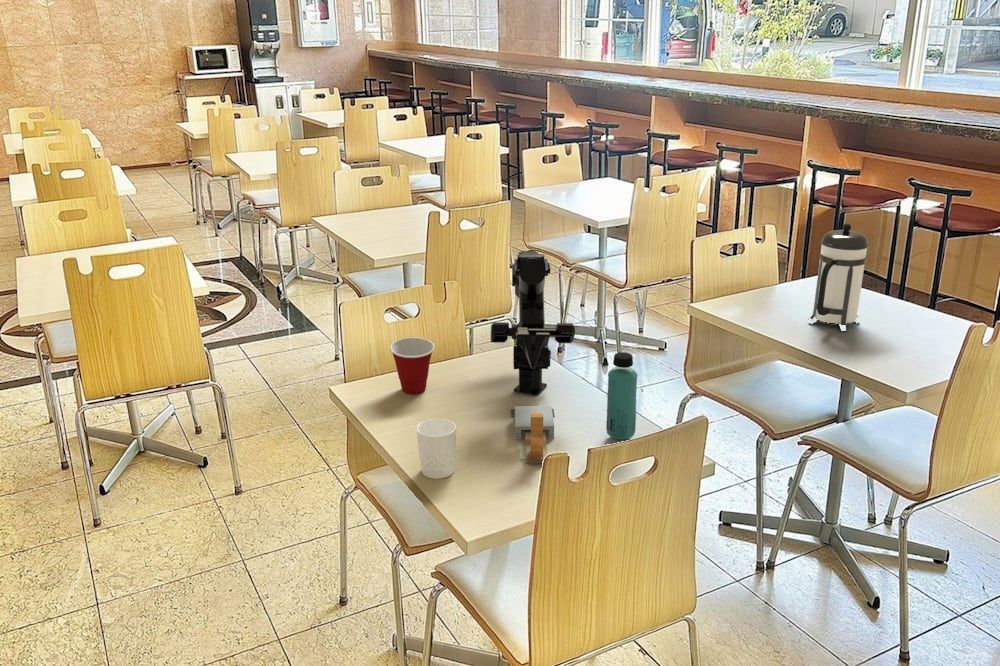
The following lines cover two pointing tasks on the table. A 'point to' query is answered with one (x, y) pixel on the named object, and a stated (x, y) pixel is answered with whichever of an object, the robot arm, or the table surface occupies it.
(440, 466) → the white cup
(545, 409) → the tunnel
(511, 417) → the pit
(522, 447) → the pad
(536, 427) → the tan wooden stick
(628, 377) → the beverage bottle
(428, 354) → the plastic cup
